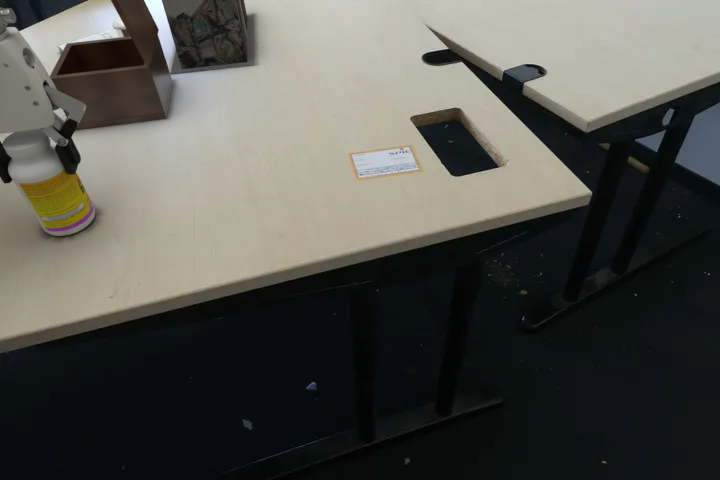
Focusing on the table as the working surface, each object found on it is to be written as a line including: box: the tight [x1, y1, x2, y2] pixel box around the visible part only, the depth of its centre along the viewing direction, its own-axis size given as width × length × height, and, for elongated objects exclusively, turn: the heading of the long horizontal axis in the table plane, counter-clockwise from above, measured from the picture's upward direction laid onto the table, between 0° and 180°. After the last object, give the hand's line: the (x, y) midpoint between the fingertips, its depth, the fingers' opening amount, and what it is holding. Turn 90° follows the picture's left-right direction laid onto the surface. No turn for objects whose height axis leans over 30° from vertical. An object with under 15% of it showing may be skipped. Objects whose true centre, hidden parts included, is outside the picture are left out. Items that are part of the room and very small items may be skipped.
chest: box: [49, 34, 174, 131], centre depth 89 cm, size 15×13×9 cm
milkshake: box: [112, 15, 130, 38], centre depth 99 cm, size 4×5×10 cm
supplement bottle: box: [2, 129, 96, 237], centre depth 66 cm, size 7×7×13 cm
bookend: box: [161, 0, 256, 75], centre depth 103 cm, size 16×25×16 cm, turn 9°
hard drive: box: [57, 28, 118, 54], centre depth 108 cm, size 2×8×12 cm
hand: (42, 171), depth 65 cm, fingers closed on supplement bottle, 6 cm apart
